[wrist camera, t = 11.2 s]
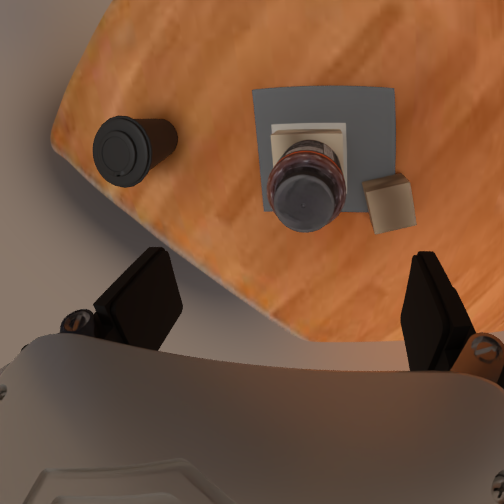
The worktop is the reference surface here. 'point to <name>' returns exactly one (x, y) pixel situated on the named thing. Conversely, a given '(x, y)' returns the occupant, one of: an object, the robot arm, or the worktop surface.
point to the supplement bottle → (307, 186)
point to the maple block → (288, 137)
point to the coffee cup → (132, 148)
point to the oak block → (389, 203)
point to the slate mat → (333, 117)
